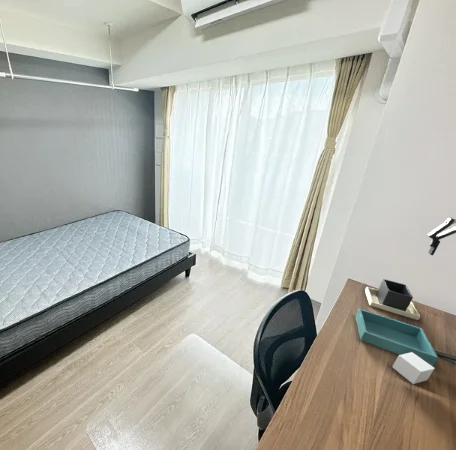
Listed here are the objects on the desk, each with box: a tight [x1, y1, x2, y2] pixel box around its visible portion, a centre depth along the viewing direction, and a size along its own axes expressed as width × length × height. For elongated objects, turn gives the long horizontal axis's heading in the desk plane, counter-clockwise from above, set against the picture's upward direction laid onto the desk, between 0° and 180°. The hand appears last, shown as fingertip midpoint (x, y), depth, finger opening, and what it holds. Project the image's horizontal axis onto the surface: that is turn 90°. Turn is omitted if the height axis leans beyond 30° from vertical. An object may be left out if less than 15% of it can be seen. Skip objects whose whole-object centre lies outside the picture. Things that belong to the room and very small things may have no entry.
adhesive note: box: [392, 352, 436, 386], centre depth 78 cm, size 6×6×6 cm
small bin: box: [376, 278, 414, 312], centre depth 111 cm, size 8×11×9 cm
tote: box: [355, 308, 439, 367], centre depth 92 cm, size 20×16×5 cm
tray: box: [364, 286, 421, 321], centre depth 112 cm, size 16×14×2 cm
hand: (453, 258), depth 100 cm, fingers open, 13 cm apart
